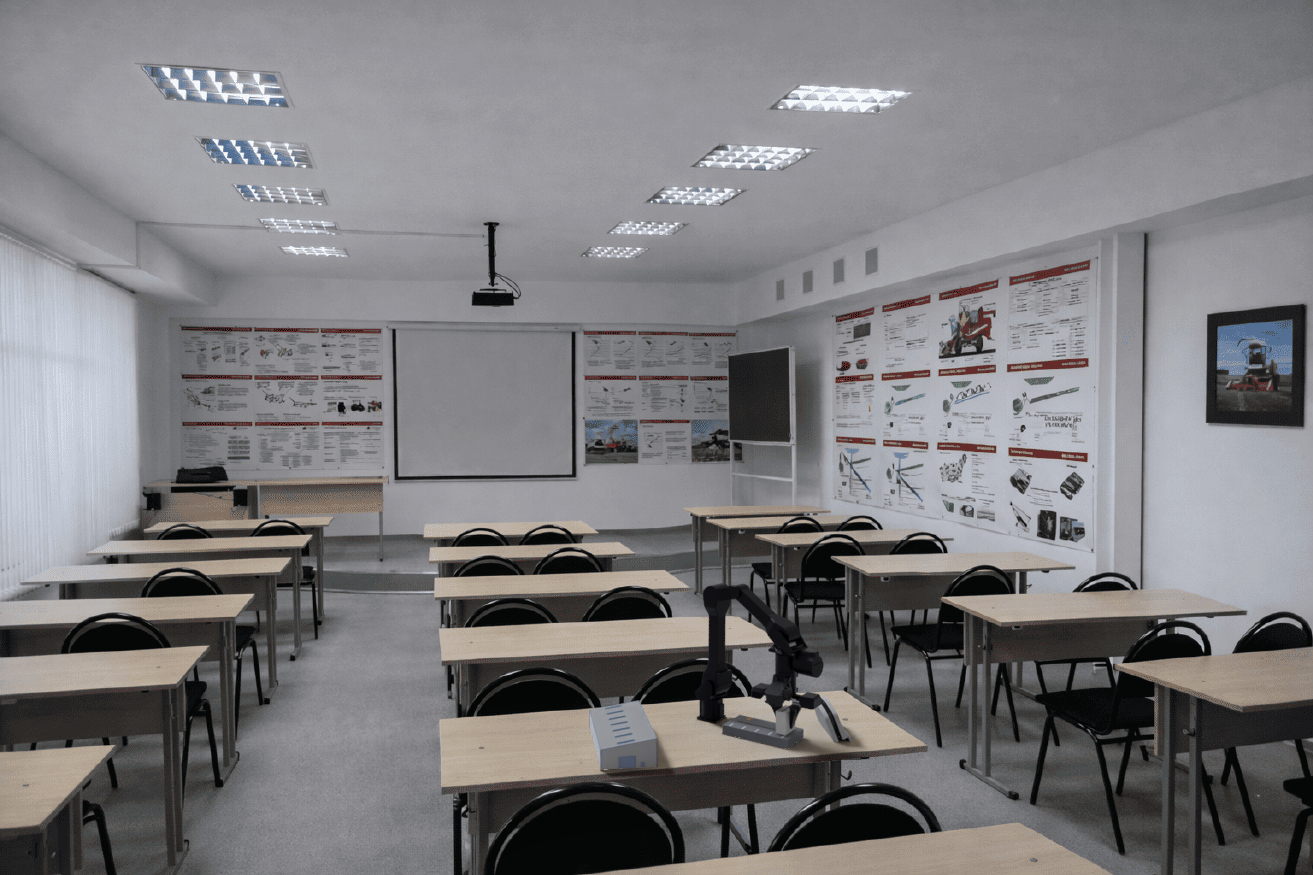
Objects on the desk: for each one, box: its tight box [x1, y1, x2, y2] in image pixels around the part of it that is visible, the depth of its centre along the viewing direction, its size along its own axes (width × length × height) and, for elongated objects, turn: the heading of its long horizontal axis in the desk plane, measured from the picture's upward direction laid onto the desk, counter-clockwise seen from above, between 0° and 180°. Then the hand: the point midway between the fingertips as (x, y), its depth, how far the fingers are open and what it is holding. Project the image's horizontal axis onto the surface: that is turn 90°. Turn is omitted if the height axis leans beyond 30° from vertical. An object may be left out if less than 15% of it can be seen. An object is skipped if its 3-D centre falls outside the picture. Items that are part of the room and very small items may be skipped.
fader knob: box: [775, 704, 796, 735], centre depth 227 cm, size 3×6×6 cm, turn 145°
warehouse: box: [588, 700, 658, 771], centre depth 224 cm, size 30×14×8 cm, turn 10°
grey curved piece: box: [814, 696, 852, 743], centre depth 235 cm, size 17×5×10 cm, turn 4°
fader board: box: [721, 714, 805, 750], centre depth 231 cm, size 20×10×3 cm, turn 55°
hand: (785, 727), depth 227 cm, fingers closed on fader knob, 3 cm apart
